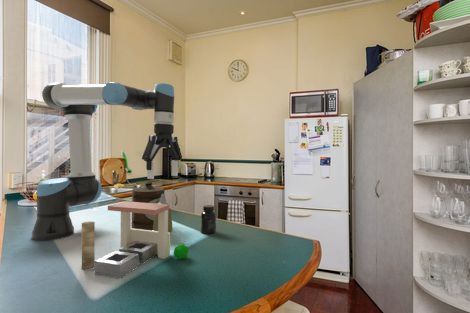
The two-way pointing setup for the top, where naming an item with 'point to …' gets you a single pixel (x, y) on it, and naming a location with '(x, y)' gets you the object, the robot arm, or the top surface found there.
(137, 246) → the inner socket
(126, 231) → the pink-topped stool
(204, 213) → the supplement bottle
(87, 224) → the peg
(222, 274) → the top surface
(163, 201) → the squeeze bottle
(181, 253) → the polyhedron
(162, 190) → the wooden container
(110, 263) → the socket
